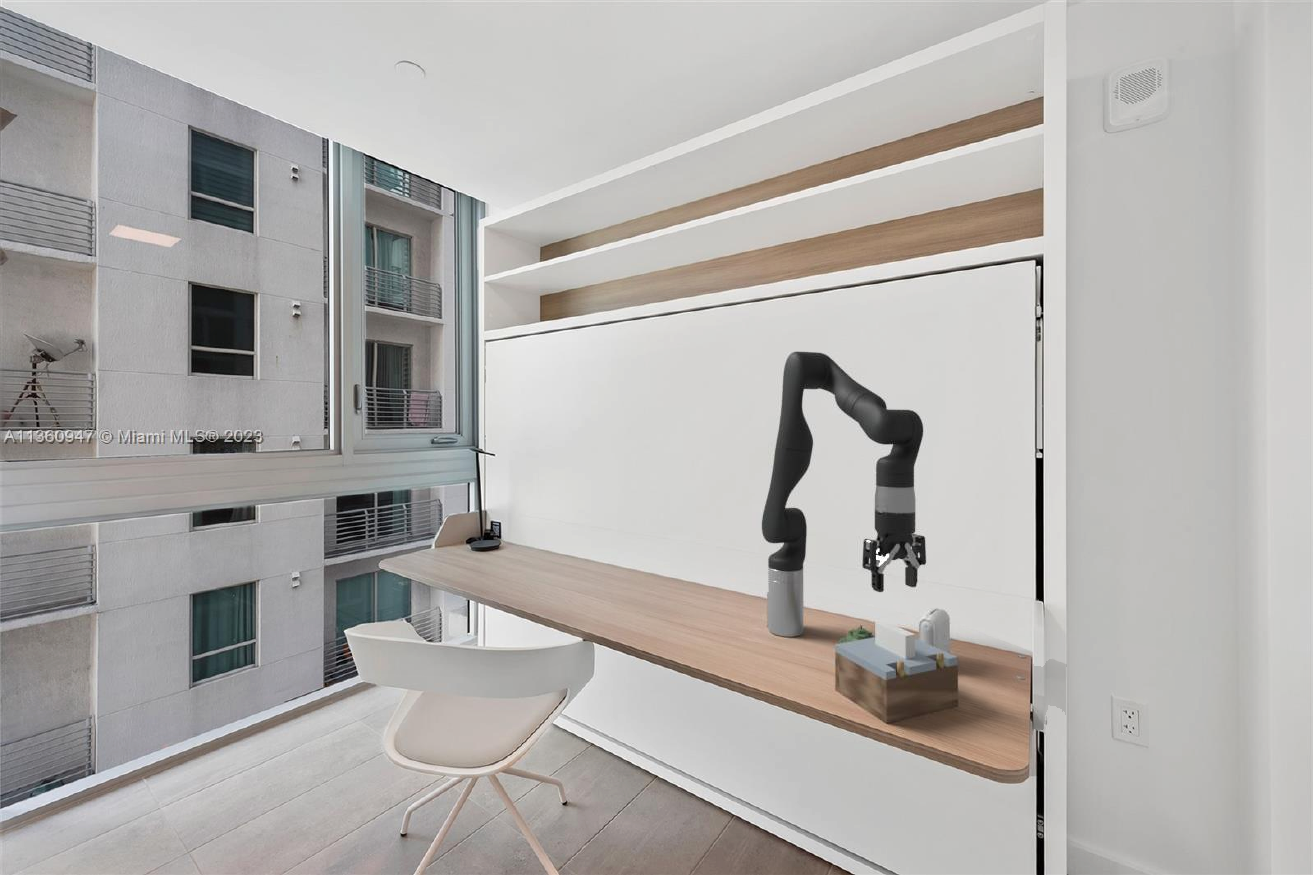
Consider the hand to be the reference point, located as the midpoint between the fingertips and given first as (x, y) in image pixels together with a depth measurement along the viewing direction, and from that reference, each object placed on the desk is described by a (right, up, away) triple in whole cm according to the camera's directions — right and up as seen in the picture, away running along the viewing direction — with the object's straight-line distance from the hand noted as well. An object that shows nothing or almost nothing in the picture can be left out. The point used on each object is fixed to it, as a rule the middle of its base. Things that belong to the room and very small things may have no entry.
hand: (894, 588), depth 108 cm
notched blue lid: (0, -14, 0) cm, 14 cm away
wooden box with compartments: (0, -22, 0) cm, 22 cm away
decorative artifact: (+2, -22, +22) cm, 31 cm away
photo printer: (+16, -22, +16) cm, 32 cm away
